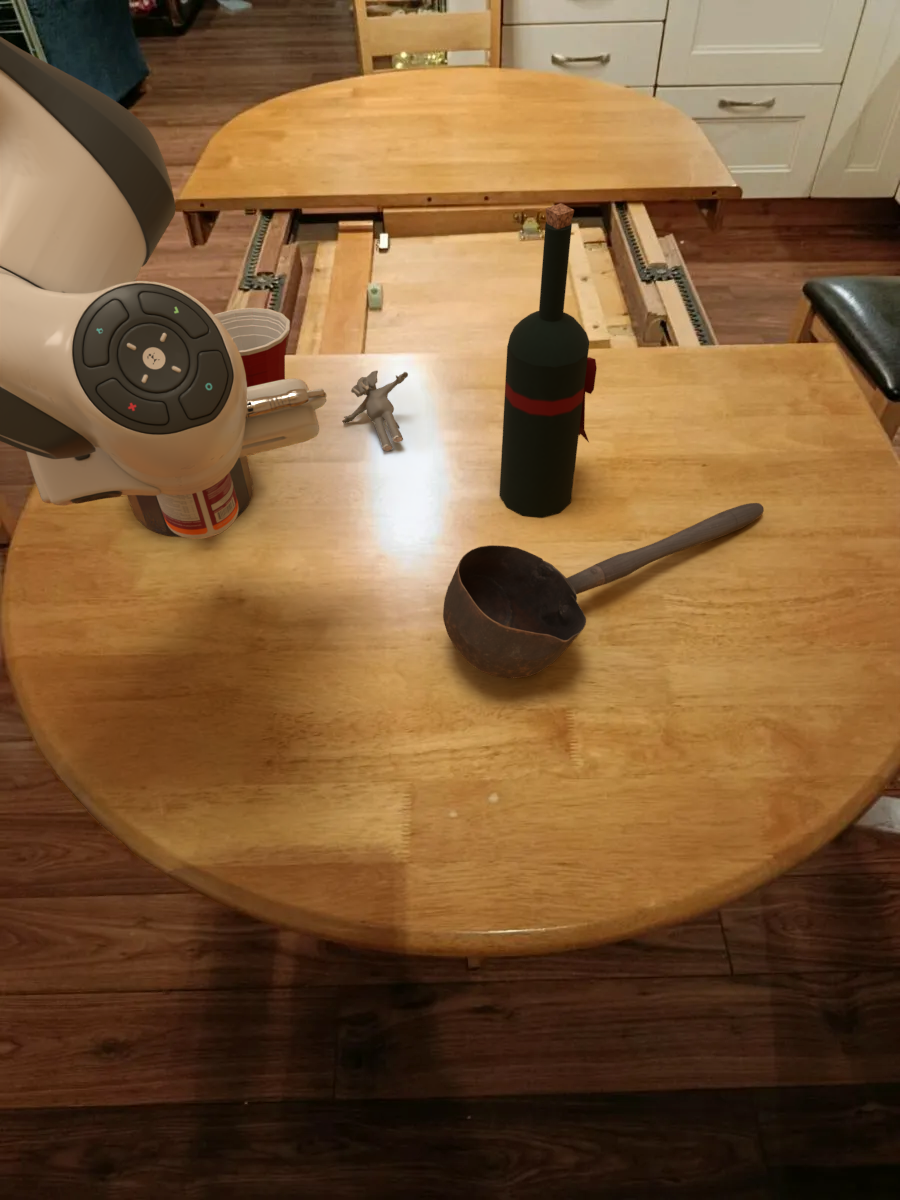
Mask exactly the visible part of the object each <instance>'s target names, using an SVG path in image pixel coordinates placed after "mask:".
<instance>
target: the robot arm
mask: <svg viewBox="0 0 900 1200" xmlns="http://www.w3.org/2000/svg"><path fill="white" fill-rule="evenodd" d="M175 215H176V201H175V196H174V191H173V186H172V182H171V178H170V175H169V171H168V168H167V166H166V162H165V160H164V157H163V154H162V152H161V150H160V147H159V145H158V143H157V141H156V139H155V137H154V135H153V133H152V132H151V130H150V129H149V128H148V127H147V126H146V125H145V124H144V123H143V122H142V121H141V119H140V118H138V117H137V116H136V115H135V114H134V113H132V112H131V111H130V110H128V109H127V108H125V106H123V105H121V103H119V102H117V101H116V100H114V99H113V98H111V97H110V96H108V95H106V94H105V93H103V92H101V91H100V90H98V89H96V88H94V87H93V86H91V85H89V84H87V83H86V82H84V81H82V80H80V79H78V78H76V77H75V76H73V75H71V74H70V73H66V72H65V71H63V70H61V69H59V68H57V67H55V66H53V65H52V64H50V63H48V62H46V61H44V60H42V59H40V58H38V57H37V56H34V55H33V54H30V53H28V52H27V51H26V50H23V49H21V48H20V47H18V46H16V45H15V44H13V43H11V42H9V41H8V40H6V38H5V39H4V38H3V37H2V36H0V442H2V443H4V444H6V445H9V446H12V447H14V448H16V449H19V450H22V451H25V453H26V456H27V460H28V464H29V466H30V469H31V474H32V476H33V478H34V482H35V485H36V487H37V491H38V494H39V497H40V499H41V501H42V502H44V503H46V504H53V505H56V506H62V507H65V506H69V505H73V504H74V505H79V504H84V503H89V502H94V501H99V500H105V499H112V498H113V499H114V498H120V497H122V496H127V495H152V496H153V495H160V494H161V493H163V494H169V495H187V494H193V493H197V492H200V491H203V490H205V489H208V488H210V487H212V486H213V485H215V484H216V483H218V482H219V481H221V480H222V479H223V478H224V477H225V476H226V475H227V474H228V473H229V472H230V471H231V469H232V468H233V467H234V465H235V463H236V462H237V460H238V458H240V457H244V456H247V457H248V456H251V455H255V454H261V453H265V452H268V451H273V450H277V449H281V448H285V447H289V446H293V445H297V444H302V443H304V442H309V441H310V440H312V439H315V438H316V437H318V435H319V433H320V424H319V420H318V417H317V413H316V410H317V409H320V408H321V407H323V406H324V405H325V404H326V403H327V397H328V395H327V392H325V390H324V389H323V388H315V389H311V390H310V389H309V387H308V384H307V383H306V382H305V380H303V379H301V378H285V379H284V380H278V381H273V382H269V383H264V384H260V385H255V386H251V387H247V382H246V373H245V369H244V364H243V361H242V358H241V355H240V353H239V350H238V348H237V346H236V344H235V343H234V341H233V339H232V337H231V336H230V334H229V333H228V331H227V330H226V328H225V327H224V326H223V325H222V323H221V322H220V321H219V320H218V319H217V317H216V316H215V313H213V312H212V311H211V310H210V309H209V308H208V307H207V306H205V304H203V302H201V301H199V300H198V299H197V298H196V297H193V295H191V294H190V293H188V292H186V291H185V290H182V289H180V288H177V287H175V286H173V285H170V284H168V283H167V284H166V283H163V282H159V281H151V280H137V278H138V276H139V274H140V272H141V270H142V268H143V267H144V266H145V265H146V264H147V263H148V261H149V259H150V258H151V256H152V254H153V253H154V251H155V249H156V248H157V246H158V244H159V242H160V241H161V239H162V237H163V235H164V234H165V232H166V230H167V229H168V227H170V224H171V223H172V221H173V219H174V217H175Z"/></svg>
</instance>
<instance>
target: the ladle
mask: <svg viewBox="0 0 900 1200" xmlns="http://www.w3.org/2000/svg"><path fill="white" fill-rule="evenodd" d="M764 508H765V507H764V506H763V505H762V504H761V503H759V502H750V503H744V504H741V505H737V506H735V507H732V508H729V509H726V510H723V511H721V512H719V513H716V514H714V515H712V516H710V517H708V518H705V519H703V520H702V521H699V522H697V523H695V524H693V525H690V526H689V527H686V528H684V529H682V530H679V531H678V532H676V533H673V534H671V535H669V536H667V537H665V538H662V539H660V540H657V541H655V542H653V543H651V544H648V545H645V546H642V547H639V548H637V549H634V550H630V551H625V552H623V553H618V554H616V555H613V556H611V557H609V558H607V559H605V560H602V561H600V562H597V563H595V564H593V565H591V566H589V567H588V568H585V569H583V570H581V571H579V572H576V573H574V574H572V575H570V576H568V577H566V576H565V575H564V574H563V573H562V572H561V571H560V570H558V568H556V567H555V566H554V564H551V563H550V562H548V561H546V560H544V559H543V558H541V557H539V556H537V555H536V554H533V553H531V552H529V551H527V550H525V549H522V548H519V547H516V546H510V545H498V544H497V545H490V544H489V545H483V546H478V547H475V548H473V549H471V550H469V551H467V552H466V553H465V554H464V555H463V556H462V557H461V558H460V560H459V562H458V564H457V566H456V569H455V571H454V574H453V575H452V577H451V579H450V582H449V584H448V586H447V590H446V592H445V596H444V602H443V610H442V620H443V624H444V628H445V631H446V633H447V635H448V637H449V639H450V640H451V643H452V644H453V646H454V647H455V648H456V650H457V651H458V652H459V654H460V655H461V656H462V657H463V659H464V660H465V661H466V662H468V664H470V666H472V667H474V668H475V669H476V670H478V671H480V672H482V673H485V674H488V675H491V676H495V677H499V678H503V679H520V678H525V677H531V676H534V675H537V674H538V673H540V672H542V671H543V670H545V669H547V668H548V667H550V666H551V665H552V664H553V663H555V662H556V660H558V658H559V657H561V656H562V654H563V653H564V652H566V650H567V649H568V648H569V646H570V645H572V643H573V641H574V640H575V639H577V637H578V636H579V635H580V634H581V633H582V632H583V630H584V628H585V627H586V624H587V617H586V615H585V613H584V611H583V610H582V608H581V606H580V605H579V603H578V602H577V601H578V597H577V595H579V594H582V593H584V592H587V591H589V590H593V589H595V588H598V587H602V586H604V585H608V584H610V583H613V582H614V581H617V580H620V579H623V578H625V577H627V576H629V575H631V574H632V573H634V572H636V571H638V570H639V569H642V568H644V567H645V566H647V565H649V564H651V563H653V562H656V561H658V560H660V559H663V558H665V557H668V556H671V555H673V554H675V553H678V552H682V551H685V550H686V549H690V548H693V547H696V546H698V545H701V544H705V543H707V542H710V541H713V540H716V539H718V538H722V537H724V536H727V535H729V534H732V533H733V532H736V531H738V530H740V529H742V528H744V527H747V526H749V524H751V523H754V522H755V520H757V519H759V517H761V516H762V515H763V514H764V512H765V510H764Z"/></svg>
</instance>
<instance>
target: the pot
mask: <svg viewBox="0 0 900 1200" xmlns="http://www.w3.org/2000/svg"><path fill="white" fill-rule="evenodd" d="M230 475H231V479H232V482H233V486H234V490H235V493H236V497H237V501H238V507H239V510H238V515H237V517H236V519H237V518H238V517H240V516H241V515H242V514H243V513H244V512H245V510H246V509H247V508H248V507H249V505H250V503H251V501H252V498H253V493H254V487H253V486H254V482H253V478H252V474H251V469H250V464H249V461H248V456H244V457H240V458H238V460H237V462H236V463H235V465H234V467H233V468H232V469H231V471H230ZM126 497H127V499H128V501H129V504H130V506H131V509H132V512H133V514H134V517H136V519H137V520H138V522H139V523H140V524H141V525H142V526H143V527H145V528H146V529H148V530H149V531H151V532H154V533H156V534H159V535H164V536H168V537H181V536H179V535H177V534H175V533H174V532H173V531H171V530H170V528H169V527H168V525H167V523H166V521H165V518H164V516H163V513H162V510H161V507H160V505H159V502H158V499H157V496H156V495H153V496H152V495H126Z"/></svg>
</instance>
